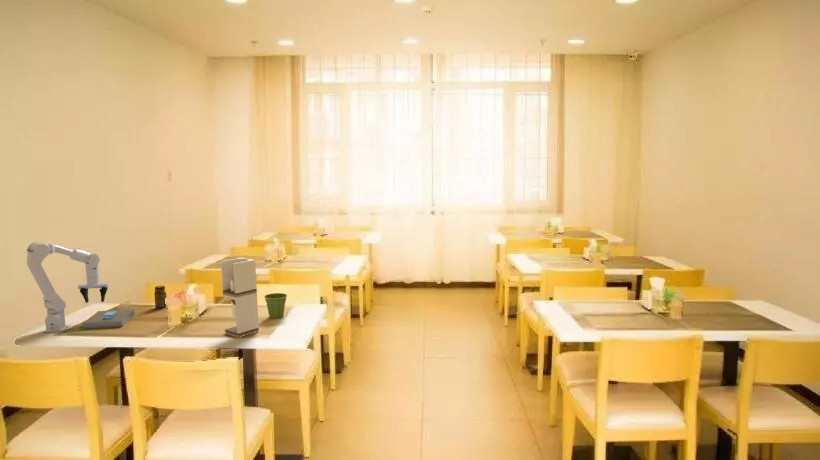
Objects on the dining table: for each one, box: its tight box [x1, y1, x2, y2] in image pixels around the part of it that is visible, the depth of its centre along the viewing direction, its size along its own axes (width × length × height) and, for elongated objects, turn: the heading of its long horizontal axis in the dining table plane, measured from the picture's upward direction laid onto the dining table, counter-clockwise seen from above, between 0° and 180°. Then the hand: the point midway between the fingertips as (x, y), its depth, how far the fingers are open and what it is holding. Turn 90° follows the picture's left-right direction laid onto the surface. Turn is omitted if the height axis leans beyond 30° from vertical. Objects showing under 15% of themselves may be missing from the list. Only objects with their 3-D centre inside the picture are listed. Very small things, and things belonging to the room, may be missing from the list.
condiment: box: [152, 285, 167, 311], centre depth 331 cm, size 7×8×12 cm
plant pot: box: [263, 292, 288, 319], centre depth 311 cm, size 12×12×11 cm
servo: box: [102, 311, 117, 319], centre depth 307 cm, size 11×4×4 cm, turn 9°
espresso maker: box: [220, 257, 260, 338], centre depth 283 cm, size 11×11×35 cm
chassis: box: [82, 308, 136, 330], centre depth 307 cm, size 22×18×3 cm
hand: (95, 301), depth 310 cm, fingers open, 7 cm apart
